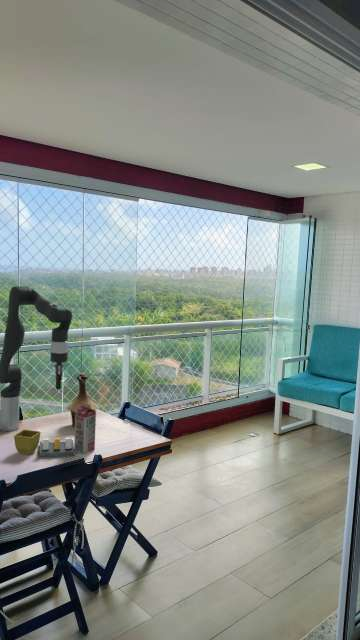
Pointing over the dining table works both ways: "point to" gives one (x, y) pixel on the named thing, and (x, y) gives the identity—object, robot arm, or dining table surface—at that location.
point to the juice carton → (85, 429)
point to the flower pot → (27, 441)
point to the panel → (56, 450)
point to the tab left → (45, 443)
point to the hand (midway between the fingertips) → (58, 388)
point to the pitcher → (81, 398)
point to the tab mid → (56, 443)
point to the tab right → (68, 442)
